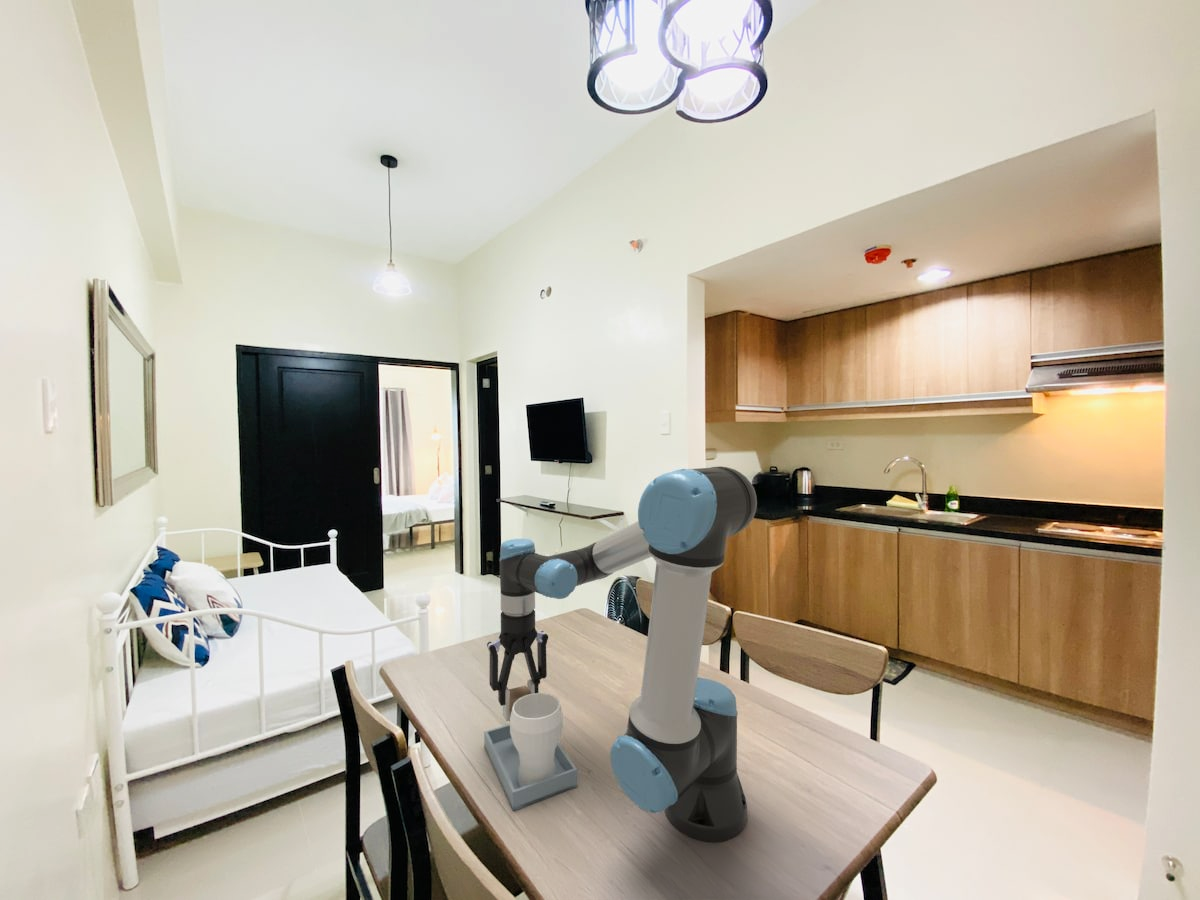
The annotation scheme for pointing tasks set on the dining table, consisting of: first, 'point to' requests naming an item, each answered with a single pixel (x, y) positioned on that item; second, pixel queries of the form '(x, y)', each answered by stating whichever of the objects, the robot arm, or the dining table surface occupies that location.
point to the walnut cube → (517, 695)
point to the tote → (508, 769)
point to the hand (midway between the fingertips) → (518, 713)
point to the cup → (536, 735)
